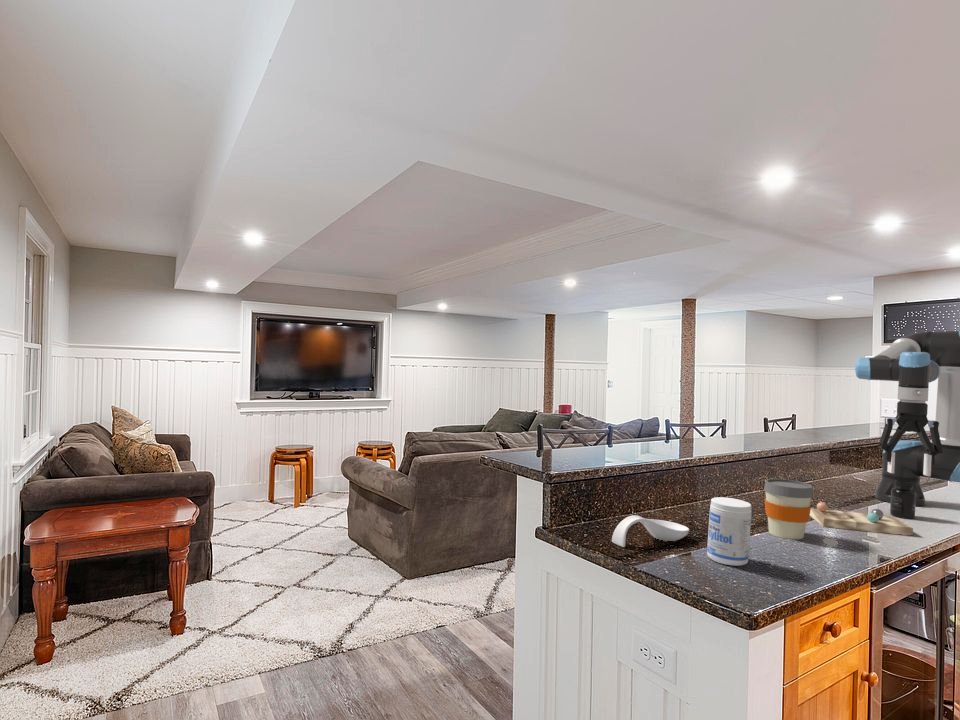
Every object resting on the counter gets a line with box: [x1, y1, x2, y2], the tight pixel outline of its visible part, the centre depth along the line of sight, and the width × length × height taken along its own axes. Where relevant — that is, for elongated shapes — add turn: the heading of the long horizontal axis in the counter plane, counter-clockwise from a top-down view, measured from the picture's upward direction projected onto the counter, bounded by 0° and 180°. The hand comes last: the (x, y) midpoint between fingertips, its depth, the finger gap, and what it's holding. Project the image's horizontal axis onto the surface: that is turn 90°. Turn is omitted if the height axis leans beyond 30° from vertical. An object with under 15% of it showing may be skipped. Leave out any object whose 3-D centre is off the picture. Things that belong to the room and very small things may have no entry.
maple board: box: [809, 507, 914, 536], centre depth 178 cm, size 24×13×2 cm, turn 76°
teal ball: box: [867, 512, 879, 523], centre depth 173 cm, size 3×3×3 cm
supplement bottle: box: [889, 480, 917, 520], centre depth 192 cm, size 7×7×12 cm
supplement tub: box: [706, 496, 753, 567], centre depth 141 cm, size 10×10×15 cm
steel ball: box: [870, 508, 884, 519], centre depth 177 cm, size 3×3×3 cm
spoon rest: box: [611, 514, 690, 548], centre depth 154 cm, size 24×12×7 cm, turn 119°
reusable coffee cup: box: [763, 478, 814, 540], centre depth 165 cm, size 13×12×15 cm
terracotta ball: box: [816, 501, 828, 512], centre depth 184 cm, size 3×3×3 cm
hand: (908, 473), depth 175 cm, fingers open, 9 cm apart
